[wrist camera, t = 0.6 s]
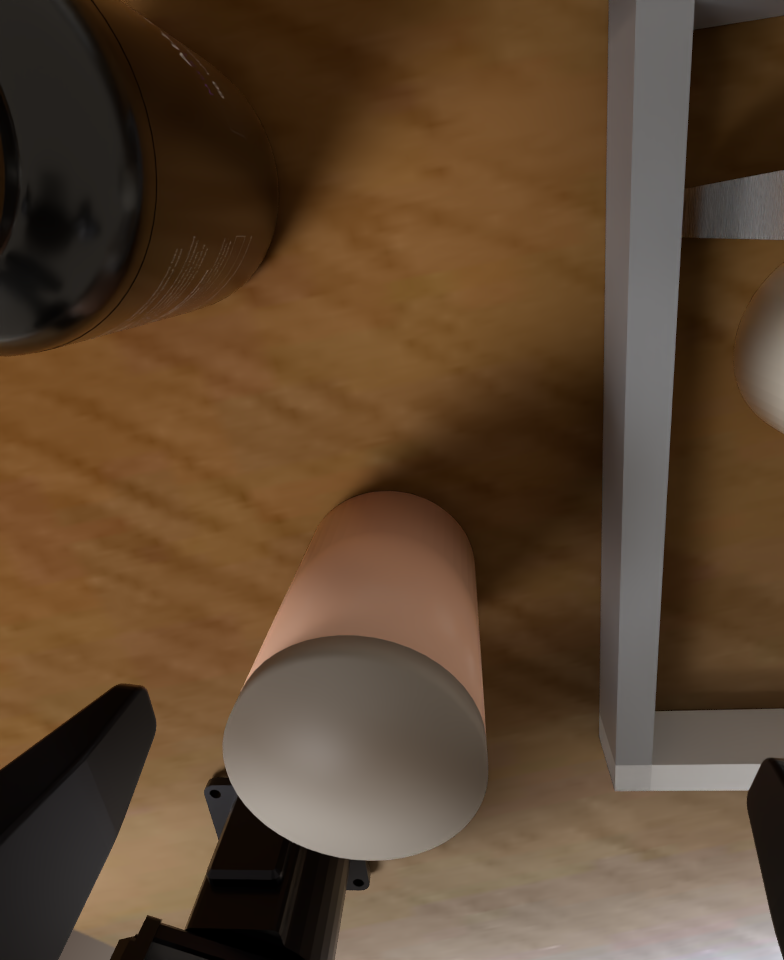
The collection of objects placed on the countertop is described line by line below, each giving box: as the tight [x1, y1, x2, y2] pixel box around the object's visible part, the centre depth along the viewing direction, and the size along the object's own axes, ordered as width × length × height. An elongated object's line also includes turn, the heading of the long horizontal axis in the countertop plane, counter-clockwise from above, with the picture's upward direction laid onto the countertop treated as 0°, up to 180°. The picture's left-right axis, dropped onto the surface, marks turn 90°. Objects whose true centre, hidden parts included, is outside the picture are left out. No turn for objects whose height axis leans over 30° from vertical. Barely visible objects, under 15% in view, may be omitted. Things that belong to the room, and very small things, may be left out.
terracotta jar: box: [223, 491, 488, 861], centre depth 18 cm, size 6×6×9 cm
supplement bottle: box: [0, 0, 279, 356], centre depth 12 cm, size 7×7×12 cm
